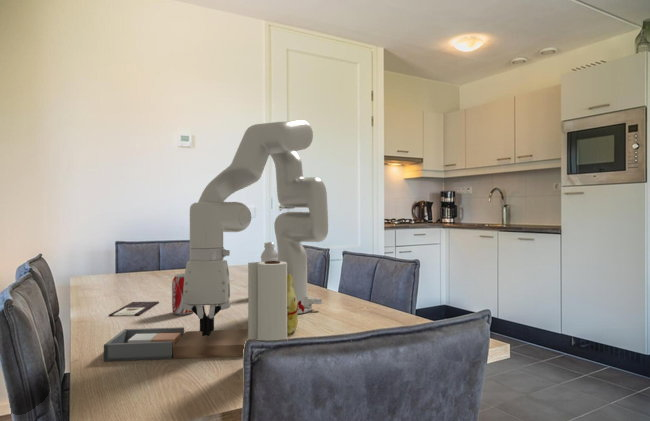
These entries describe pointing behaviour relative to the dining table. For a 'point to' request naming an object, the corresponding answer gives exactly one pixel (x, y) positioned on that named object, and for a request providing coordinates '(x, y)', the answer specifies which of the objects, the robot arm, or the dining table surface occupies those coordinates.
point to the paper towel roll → (267, 300)
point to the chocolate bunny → (292, 306)
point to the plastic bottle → (269, 252)
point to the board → (210, 344)
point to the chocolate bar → (134, 309)
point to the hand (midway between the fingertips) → (206, 334)
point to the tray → (139, 346)
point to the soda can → (178, 295)
